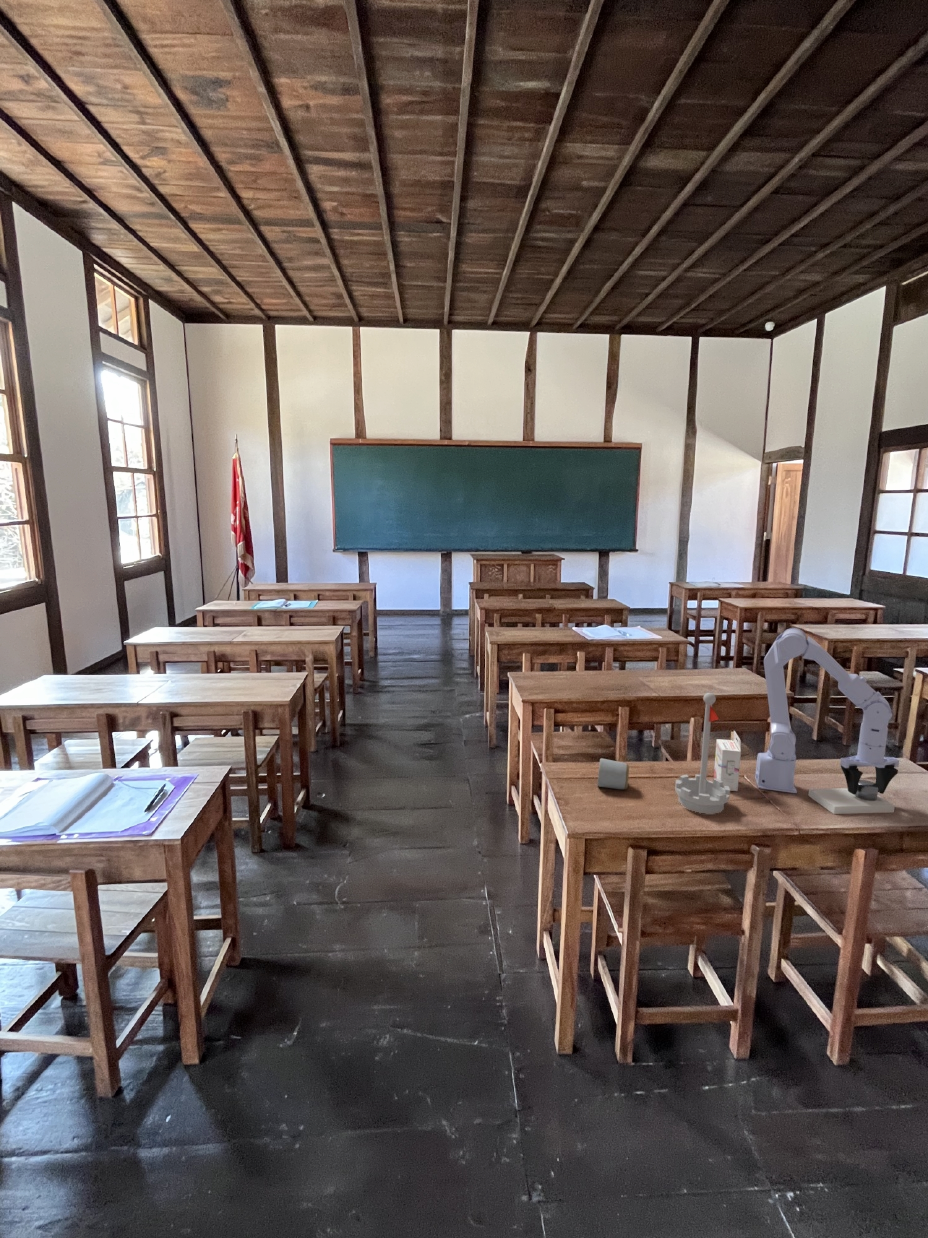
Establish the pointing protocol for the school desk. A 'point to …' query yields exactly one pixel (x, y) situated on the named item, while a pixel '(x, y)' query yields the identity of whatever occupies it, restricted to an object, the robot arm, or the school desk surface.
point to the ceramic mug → (613, 774)
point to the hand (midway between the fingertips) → (865, 792)
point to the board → (848, 802)
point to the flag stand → (703, 776)
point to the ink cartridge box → (728, 762)
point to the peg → (867, 790)
